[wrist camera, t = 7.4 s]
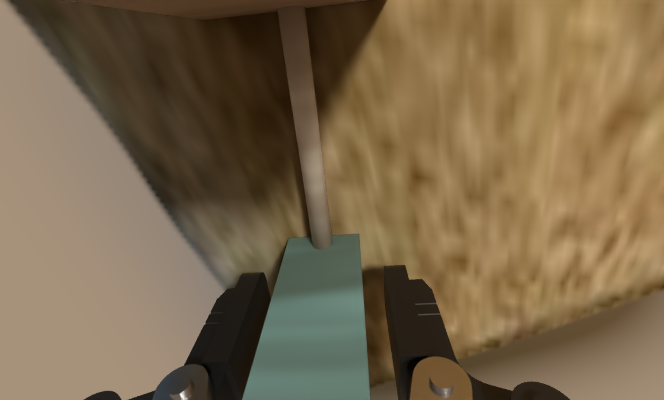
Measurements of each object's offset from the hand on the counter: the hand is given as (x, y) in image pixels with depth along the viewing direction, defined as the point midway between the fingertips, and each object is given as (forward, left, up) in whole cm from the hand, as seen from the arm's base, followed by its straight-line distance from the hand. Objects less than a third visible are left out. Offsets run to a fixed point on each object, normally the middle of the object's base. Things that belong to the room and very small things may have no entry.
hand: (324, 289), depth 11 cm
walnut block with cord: (-6, 0, -1) cm, 6 cm away
